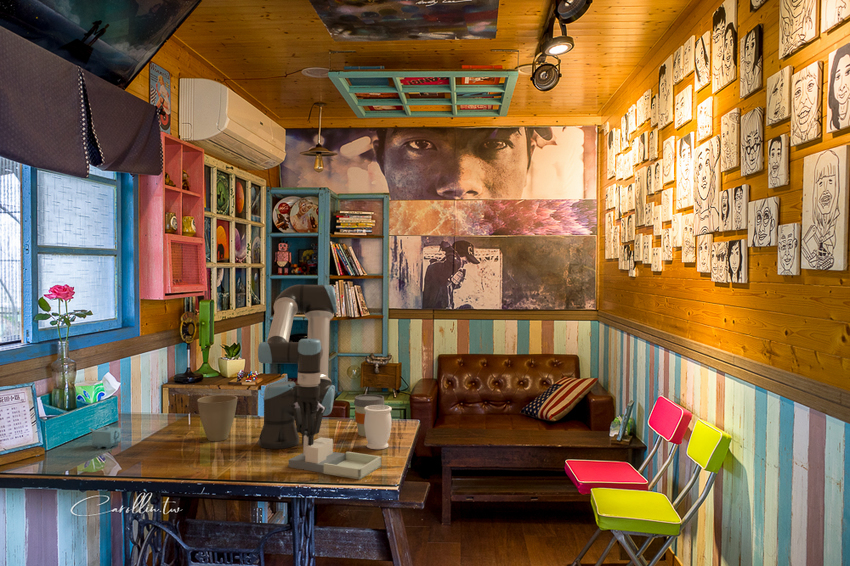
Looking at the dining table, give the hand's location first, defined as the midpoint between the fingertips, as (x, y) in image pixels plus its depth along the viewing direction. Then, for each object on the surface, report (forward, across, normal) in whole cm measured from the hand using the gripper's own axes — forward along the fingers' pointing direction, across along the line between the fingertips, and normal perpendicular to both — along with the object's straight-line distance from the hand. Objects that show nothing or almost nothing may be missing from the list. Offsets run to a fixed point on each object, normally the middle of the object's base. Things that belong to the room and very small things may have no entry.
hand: (307, 454), depth 192 cm
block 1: (+2, +3, 0) cm, 4 cm away
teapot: (+5, -81, -14) cm, 83 cm away
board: (+4, +2, +4) cm, 6 cm away
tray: (+4, +16, +4) cm, 17 cm away
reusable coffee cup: (+4, -2, +46) cm, 46 cm away
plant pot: (+4, -52, +12) cm, 53 cm away
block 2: (+2, +1, +7) cm, 7 cm away
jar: (+4, +10, +31) cm, 33 cm away
